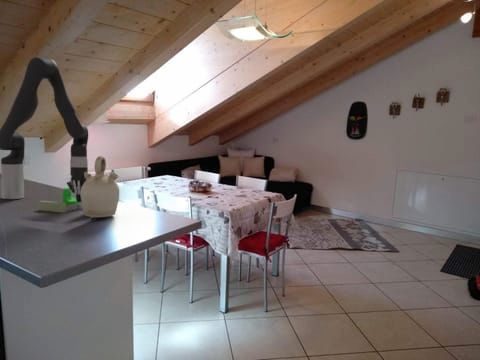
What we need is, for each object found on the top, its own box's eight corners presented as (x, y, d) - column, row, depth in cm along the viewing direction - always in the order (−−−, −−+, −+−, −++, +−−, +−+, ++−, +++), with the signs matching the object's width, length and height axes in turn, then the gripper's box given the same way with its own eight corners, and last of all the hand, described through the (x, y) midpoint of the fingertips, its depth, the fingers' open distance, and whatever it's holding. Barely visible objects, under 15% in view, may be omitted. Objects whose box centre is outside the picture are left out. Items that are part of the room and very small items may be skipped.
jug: (126, 212, 154) (126, 156, 151) (104, 219, 139) (103, 157, 136) (97, 209, 158) (96, 154, 155) (72, 216, 143) (71, 155, 140)
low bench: (39, 210, 153) (38, 201, 152) (55, 206, 161) (55, 198, 161) (63, 212, 149) (63, 203, 149) (78, 209, 158) (78, 200, 157)
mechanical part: (76, 205, 167) (76, 189, 166) (63, 205, 166) (62, 188, 165) (83, 201, 178) (83, 185, 178) (71, 201, 178) (71, 185, 177)
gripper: (61, 165, 163) (62, 202, 165) (85, 167, 160) (85, 204, 162) (73, 164, 170) (73, 199, 172) (96, 166, 167) (96, 201, 169)
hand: (79, 201), depth 167 cm, fingers closed
